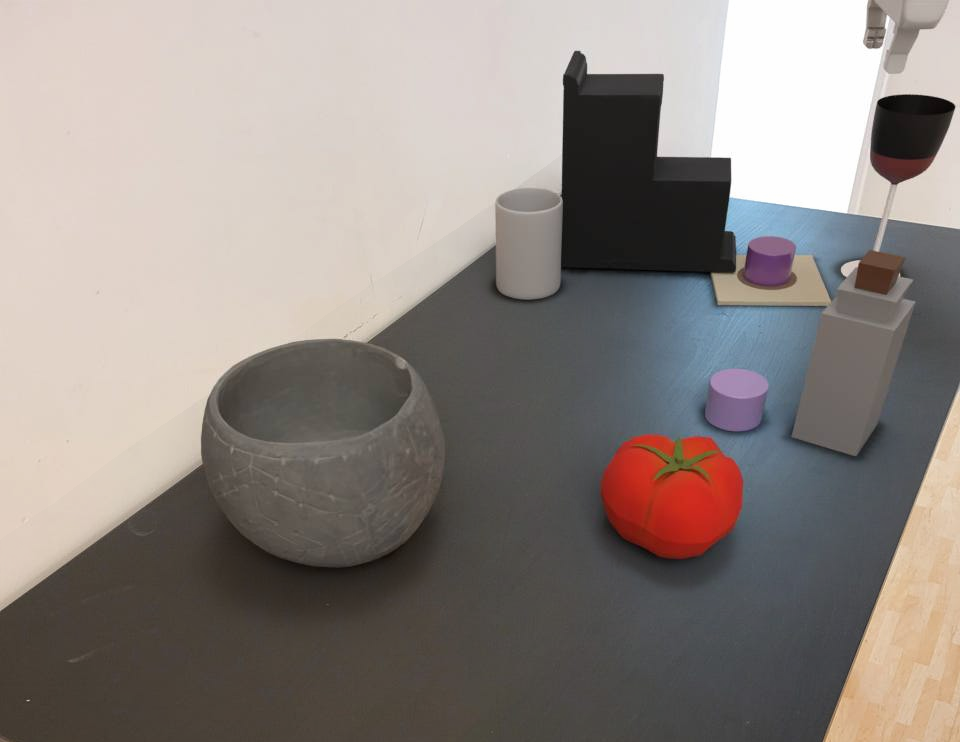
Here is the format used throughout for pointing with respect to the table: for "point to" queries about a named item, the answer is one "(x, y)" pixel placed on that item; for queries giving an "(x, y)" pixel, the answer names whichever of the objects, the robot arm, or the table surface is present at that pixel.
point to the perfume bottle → (855, 355)
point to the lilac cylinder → (736, 399)
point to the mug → (528, 243)
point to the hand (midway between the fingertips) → (881, 59)
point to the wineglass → (905, 144)
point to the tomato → (672, 494)
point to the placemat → (772, 287)
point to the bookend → (635, 182)
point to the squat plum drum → (769, 261)
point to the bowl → (323, 450)
